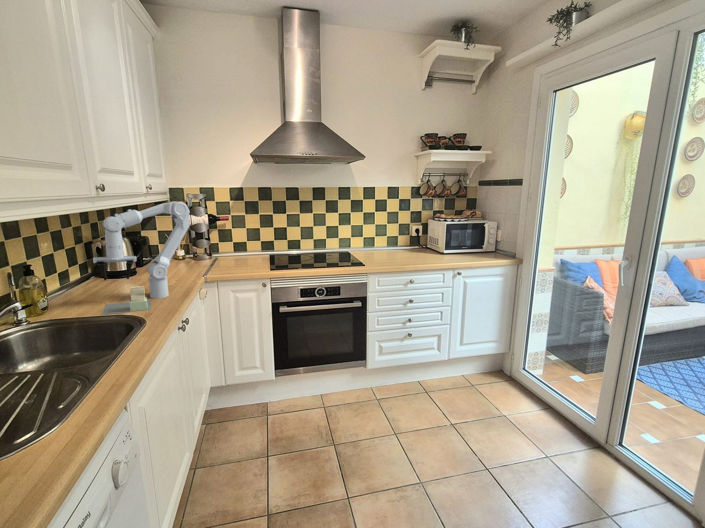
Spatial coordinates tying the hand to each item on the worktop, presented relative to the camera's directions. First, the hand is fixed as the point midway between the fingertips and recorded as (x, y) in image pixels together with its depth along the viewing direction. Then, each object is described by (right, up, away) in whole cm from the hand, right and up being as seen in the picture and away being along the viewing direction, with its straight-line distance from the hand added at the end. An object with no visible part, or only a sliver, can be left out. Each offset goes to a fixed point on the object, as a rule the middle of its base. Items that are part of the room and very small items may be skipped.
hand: (116, 279), depth 143 cm
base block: (+13, -11, -6) cm, 18 cm away
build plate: (+7, -12, -4) cm, 14 cm away
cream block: (+13, -8, -6) cm, 16 cm away
